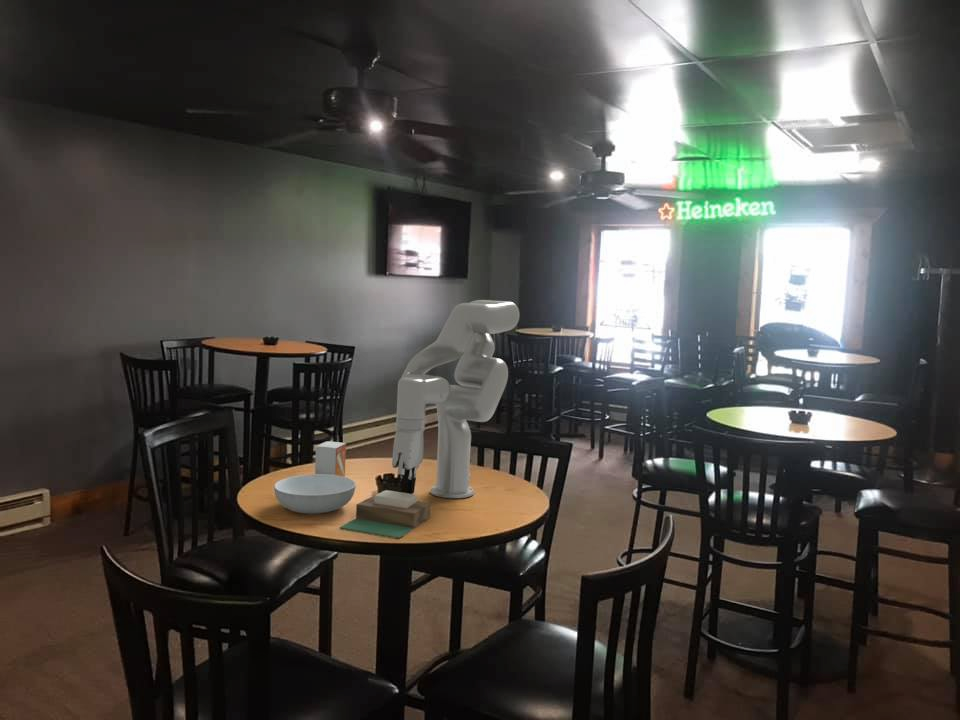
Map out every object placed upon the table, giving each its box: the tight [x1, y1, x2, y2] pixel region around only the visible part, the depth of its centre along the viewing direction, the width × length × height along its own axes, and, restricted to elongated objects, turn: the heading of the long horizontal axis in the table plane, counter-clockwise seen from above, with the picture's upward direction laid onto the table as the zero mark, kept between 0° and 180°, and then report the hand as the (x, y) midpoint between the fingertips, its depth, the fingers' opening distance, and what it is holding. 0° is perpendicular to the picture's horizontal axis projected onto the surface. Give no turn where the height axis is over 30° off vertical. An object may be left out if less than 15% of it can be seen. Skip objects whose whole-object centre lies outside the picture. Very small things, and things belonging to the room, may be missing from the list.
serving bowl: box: [273, 473, 357, 515], centre depth 195 cm, size 21×21×7 cm
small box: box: [314, 440, 347, 477], centre depth 215 cm, size 8×6×13 cm
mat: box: [339, 518, 414, 539], centre depth 181 cm, size 8×16×1 cm, turn 70°
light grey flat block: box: [374, 489, 418, 508], centre depth 190 cm, size 6×9×2 cm, turn 70°
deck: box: [355, 494, 431, 530], centre depth 190 cm, size 10×16×4 cm, turn 70°
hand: (407, 492), depth 197 cm, fingers closed
